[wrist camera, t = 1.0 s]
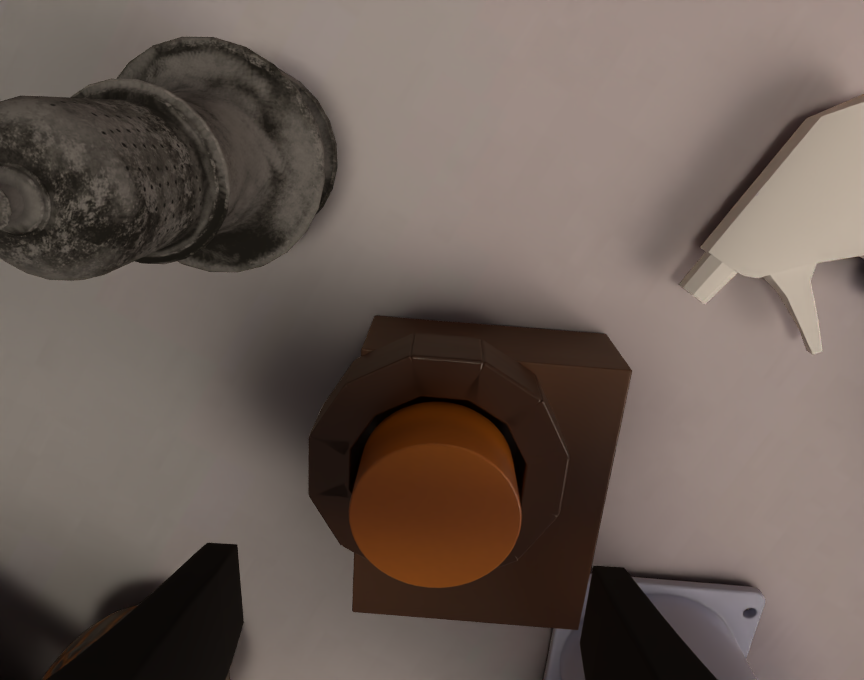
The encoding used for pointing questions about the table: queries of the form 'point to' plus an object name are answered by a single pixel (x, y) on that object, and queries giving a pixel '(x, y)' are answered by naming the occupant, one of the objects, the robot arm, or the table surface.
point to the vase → (90, 640)
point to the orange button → (436, 496)
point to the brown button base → (528, 441)
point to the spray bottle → (794, 217)
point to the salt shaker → (164, 166)
